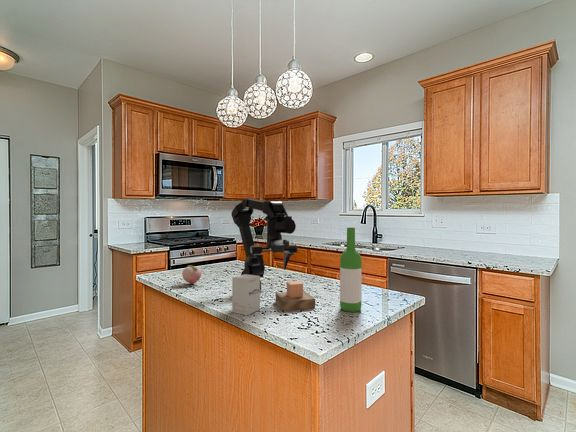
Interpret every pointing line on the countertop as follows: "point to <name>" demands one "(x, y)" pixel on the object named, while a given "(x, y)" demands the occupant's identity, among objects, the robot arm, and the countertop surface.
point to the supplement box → (245, 294)
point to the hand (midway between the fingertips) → (273, 270)
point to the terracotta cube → (294, 289)
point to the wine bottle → (350, 276)
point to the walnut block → (295, 302)
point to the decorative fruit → (191, 274)
